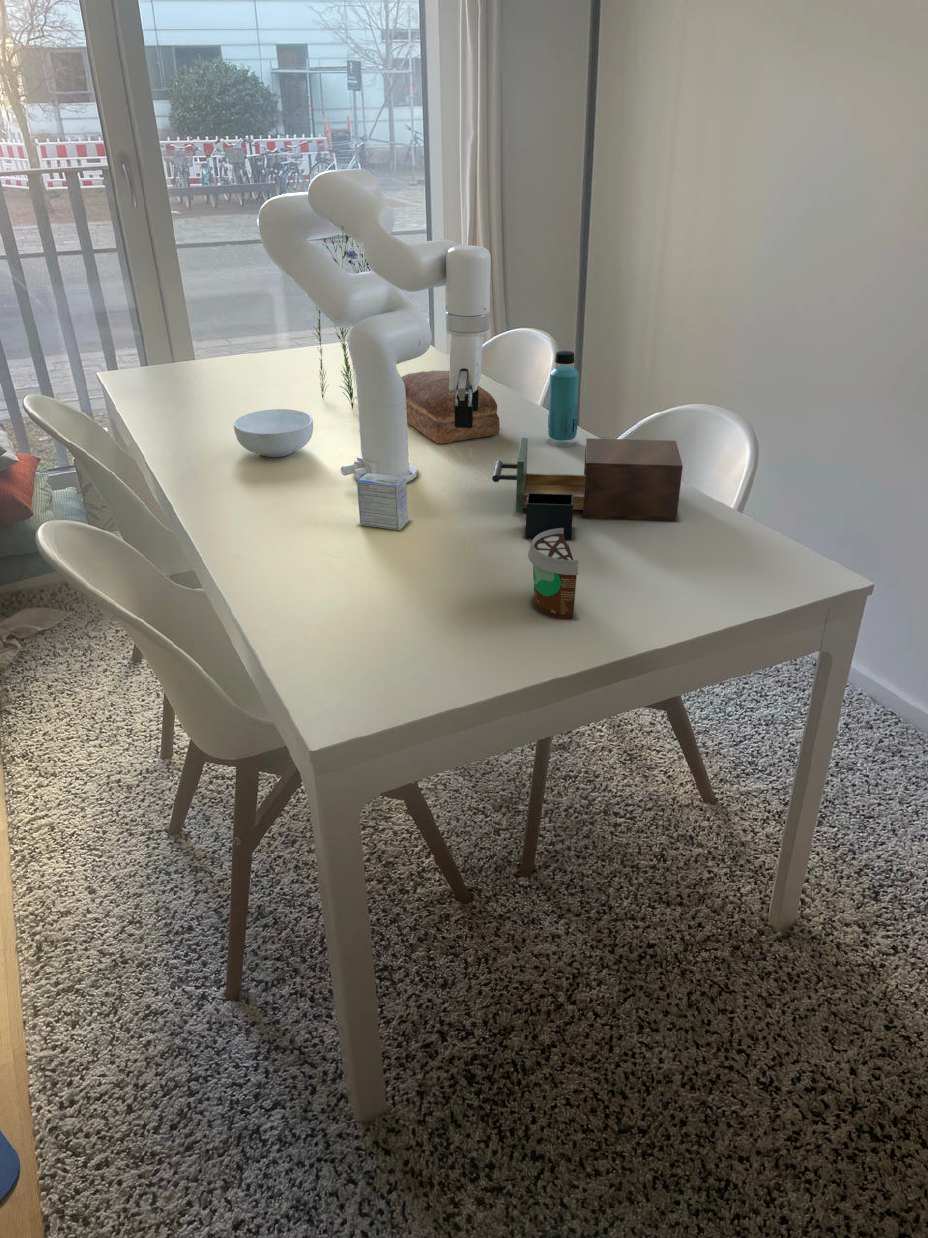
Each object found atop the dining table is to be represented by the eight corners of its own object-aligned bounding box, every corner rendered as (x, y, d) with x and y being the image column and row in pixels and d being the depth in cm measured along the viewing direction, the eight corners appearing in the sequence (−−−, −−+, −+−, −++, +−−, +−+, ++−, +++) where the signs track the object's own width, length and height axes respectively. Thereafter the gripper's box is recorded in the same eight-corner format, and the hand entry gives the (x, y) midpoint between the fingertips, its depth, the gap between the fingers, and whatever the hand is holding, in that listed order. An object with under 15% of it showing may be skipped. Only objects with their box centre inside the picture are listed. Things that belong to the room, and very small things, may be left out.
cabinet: (583, 518, 166) (586, 462, 160) (583, 490, 177) (586, 438, 172) (676, 521, 164) (682, 465, 159) (670, 493, 176) (675, 440, 170)
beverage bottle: (575, 447, 199) (579, 355, 189) (545, 446, 200) (548, 354, 190) (577, 438, 205) (582, 348, 195) (548, 436, 206) (551, 347, 196)
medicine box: (409, 521, 165) (407, 476, 161) (399, 531, 161) (397, 485, 157) (369, 516, 167) (366, 472, 163) (359, 525, 163) (356, 480, 159)
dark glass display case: (525, 538, 158) (526, 503, 155) (526, 526, 162) (527, 492, 159) (571, 540, 157) (573, 505, 154) (571, 528, 162) (573, 494, 158)
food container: (521, 586, 142) (522, 528, 137) (560, 584, 143) (562, 526, 138) (533, 625, 132) (535, 563, 127) (574, 623, 132) (578, 561, 127)
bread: (449, 403, 230) (448, 357, 224) (503, 436, 207) (504, 386, 201) (387, 412, 223) (384, 365, 218) (435, 447, 200) (434, 396, 195)
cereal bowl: (222, 459, 195) (217, 427, 192) (264, 435, 209) (261, 405, 205) (290, 468, 190) (286, 435, 186) (329, 444, 203) (326, 413, 199)
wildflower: (311, 393, 239) (293, 206, 217) (397, 389, 241) (388, 204, 219) (307, 418, 220) (287, 217, 197) (401, 414, 222) (392, 214, 199)
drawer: (490, 511, 167) (490, 460, 162) (496, 485, 179) (496, 437, 174) (608, 515, 165) (612, 464, 160) (606, 488, 176) (610, 440, 171)
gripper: (452, 311, 165) (452, 403, 173) (439, 333, 150) (439, 433, 159) (493, 312, 164) (491, 405, 173) (484, 335, 149) (482, 435, 158)
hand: (466, 418), depth 166 cm, fingers open, 9 cm apart
